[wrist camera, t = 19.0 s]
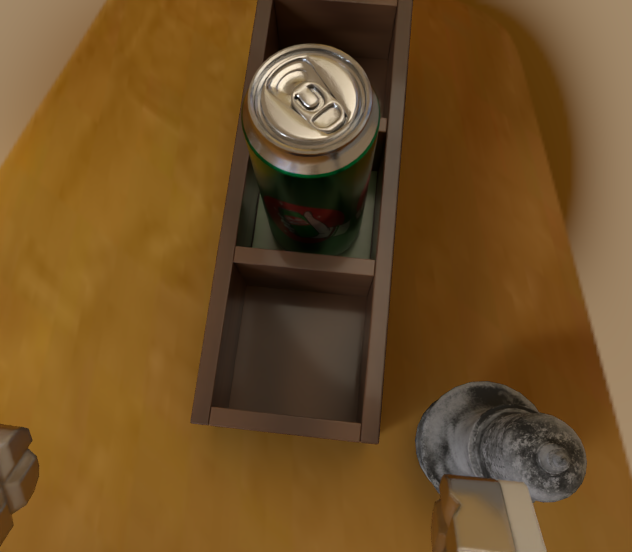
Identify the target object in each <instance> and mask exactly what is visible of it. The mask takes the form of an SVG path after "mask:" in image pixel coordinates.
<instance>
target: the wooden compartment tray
mask: <svg viewBox="0 0 632 552" xmlns="http://www.w3.org/2000/svg"><path fill="white" fill-rule="evenodd" d="M412 7H413V0H258V1H257V8H256V14H255V20H254V26H253V33H252V39H251V45H250V52H249V58H248V64H247V70H246V77H245V83H244V89H243V96H242V102H241V108H240V114H239V121H238V127H237V133H236V139H235V146H234V152H233V158H232V165H231V171H230V177H229V183H228V190H227V196H226V202H225V208H224V215H223V221H222V227H221V234H220V240H219V246H218V252H217V259H216V265H215V271H214V277H213V284H212V290H211V296H210V303H209V309H208V315H207V321H206V328H205V334H204V340H203V346H202V353H201V359H200V365H199V372H198V378H197V384H196V390H195V397H194V403H193V409H192V415H191V423H192V424H201V425H210V426H219V427H227V428H236V429H245V430H254V431H263V432H272V433H280V434H289V435H298V436H307V437H316V438H324V439H333V440H342V441H351V442H361V443H369V444H378V443H379V434H380V421H381V408H382V395H383V382H384V369H385V356H386V343H387V330H388V317H389V305H390V292H391V279H392V266H393V253H394V240H395V227H396V214H397V201H398V188H399V175H400V162H401V149H402V137H403V124H404V111H405V98H406V85H407V72H408V59H409V46H410V33H411V20H412ZM300 44H322V45H327V46H331V47H334V48H336V49H339V50H341V51H343V52H344V53H346V54H348V55H349V56H351V57H352V58H353V59H354V60H355V61H356V62H357V63H358V64H359V65H360V66H361V67H362V69H363V70H364V72H365V73H366V75H367V77H368V80H369V81H370V83H371V85H372V86H373V88H374V90H375V92H376V94H377V97H378V100H379V105H380V115H381V119H380V126H379V132H378V137H377V143H376V148H375V154H374V159H373V164H372V170H371V175H370V181H369V186H368V191H367V197H366V202H365V208H364V213H363V218H362V224H361V228H360V231H359V233H358V235H357V237H356V239H355V240H354V242H353V243H352V244H351V245H350V246H349V247H348V248H347V249H346V250H345V251H343V252H342V253H340V254H338V255H336V256H332V255H322V254H312V253H302V252H292V251H285V250H284V249H283V248H282V247H281V246H280V245H279V244H278V243H277V241H276V240H275V238H274V236H273V235H272V232H271V229H270V226H269V223H268V219H267V216H266V212H265V209H264V205H263V201H262V198H261V194H260V191H259V187H258V184H257V180H256V177H255V173H254V169H253V166H252V162H251V159H250V155H249V152H248V148H247V144H246V141H245V137H244V134H243V130H242V124H241V109H242V104H243V100H244V97H245V95H246V92H247V90H248V88H249V86H250V83H251V81H252V78H253V76H254V75H255V73H256V71H257V70H258V68H259V67H260V66H261V65H262V64H263V62H265V61H266V60H267V59H268V58H269V57H270V56H272V55H274V54H275V53H277V52H278V51H281V50H283V49H285V48H288V47H291V46H294V45H300Z"/></svg>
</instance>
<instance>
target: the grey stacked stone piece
mask: <svg viewBox="0 0 632 552" xmlns="http://www.w3.org/2000/svg"><path fill="white" fill-rule="evenodd" d="M415 442H416V454H417V457H418V460H419V463H420V466H421V468H422V470H423V471H424V473H425V474H426V476H427V478H428V479H429V480H430V481H431V482H432V484H433V485H434V487H435V488H436V490H437V492H438V493H439V494H440V490H439V485H440V482H441V478H442V476H443V475H444V474H452V475H462V476H472V477H482V478H492V479H495V480H506V481H516V482H524V483H525V484H526V486H527V487H528V490H529V493H530V497H531V500H532V503H534V502H535V501H540V502H556V501H559V500H562V499H565V498H568V497H569V496H570V495H572V494H573V493H574V492H576V490H577V489H578V488H579V486H580V485H581V484H582V482H583V479H584V476H585V474H586V465H587V460H586V454H585V449H584V447H583V445H582V442H581V440H580V438H579V437H578V436H577V434H576V433H575V431H574V430H573V429H572V428H571V427H570V426H568V425H567V424H566V423H565V422H563V421H562V420H560V419H558V418H556V417H554V416H552V415H548V414H544V413H539V411H538V410H537V408H536V407H535V406H534V404H532V403H531V402H530V401H529V400H528V399H527V398H526V397H524V396H523V395H522V394H521V393H519V392H517V391H515V390H513V389H512V388H510V387H508V386H506V385H502V384H498V383H493V382H489V381H482V382H469V383H466V384H463V385H460V386H457V387H455V388H453V389H452V390H450V391H449V392H447V393H446V394H444V395H443V396H441V397H440V398H439V399H438V400H437V401H435V402H434V403H432V404H431V406H430V407H429V408H428V409H427V410H426V411H425V413H424V414H423V416H422V418H421V420H420V422H419V424H418V427H417V433H416V439H415Z"/></svg>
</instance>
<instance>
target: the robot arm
mask: <svg viewBox="0 0 632 552" xmlns="http://www.w3.org/2000/svg"><path fill="white" fill-rule="evenodd" d="M31 442H32V438H31V435H30V432H29V429H28V428H24V427H18V426H11V425H4V424H0V546H1V545H2V543H3V541H4V540H5V538H6V537H7V535H8V533H9V532H10V530H11V529H12V527H13V518H12V514H13V513H15V512H16V511H18V510H19V509H21V508H22V507H24V506H25V505H26V504H27V503H28V501H29V499H30V498H31V496H32V494H33V493H34V490H35V487H36V484H37V481H38V477H39V463H38V459H37V456H36V455H35V454H34V453H32V452H31V451H30V450H29V449H28V446H29V445H30V444H31ZM439 490H440V499H439V500H438V501H436V502H435V505H434V509H433V514H432V524H431V542H432V552H547V551H546V547H545V544H544V540H543V537H542V534H541V530H540V527H539V524H538V520H537V517H536V513H535V510H534V507H533V503H532V500H531V497H530V493H529V490H528V487H527V486H526V484H525V483H524V482H516V481H506V480H495V479H492V478H482V477H472V476H462V475H452V474H444V475H443V476H442V478H441V482H440V485H439Z"/></svg>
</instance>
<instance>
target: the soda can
mask: <svg viewBox="0 0 632 552" xmlns="http://www.w3.org/2000/svg"><path fill="white" fill-rule="evenodd" d="M380 119H381V115H380V105H379V100H378V97H377V94H376V92H375V90H374V88H373V86H372V85H371V83H370V81H369V80H368V77H367V75H366V73H365V72H364V70H363V69H362V67H361V66H360V65H359V64H358V63H357V62H356V61H355V60H354V59H353V58H352V57H351V56H349V55H348V54H346V53H344V52H343V51H341V50H339V49H336V48H334V47H331V46H327V45H322V44H300V45H294V46H291V47H288V48H285V49H283V50H281V51H278V52H277V53H275V54H274V55H272V56H270V57H269V58H268V59H267V60H266V61H265V62H263V64H262V65H261V66H260V67H259V68H258V70H257V71H256V73H255V75H254V76H253V78H252V81H251V83H250V86H249V88H248V90H247V92H246V95H245V97H244V100H243V104H242V109H241V124H242V130H243V134H244V137H245V141H246V144H247V148H248V152H249V155H250V159H251V162H252V166H253V169H254V173H255V177H256V180H257V184H258V187H259V191H260V194H261V198H262V201H263V205H264V209H265V212H266V216H267V219H268V223H269V226H270V229H271V232H272V235H273V236H274V238H275V240H276V241H277V243H278V244H279V245H280V246H281V247H282V248H283V249H284V250H285V251H292V252H302V253H312V254H322V255H332V256H336V255H338V254H340V253H342V252H343V251H345V250H346V249H347V248H348V247H349V246H350V245H351V244H352V243H353V242H354V240H355V239H356V237H357V235H358V233H359V231H360V228H361V224H362V218H363V213H364V208H365V202H366V197H367V191H368V186H369V181H370V175H371V170H372V164H373V159H374V154H375V148H376V143H377V137H378V132H379V126H380Z"/></svg>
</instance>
